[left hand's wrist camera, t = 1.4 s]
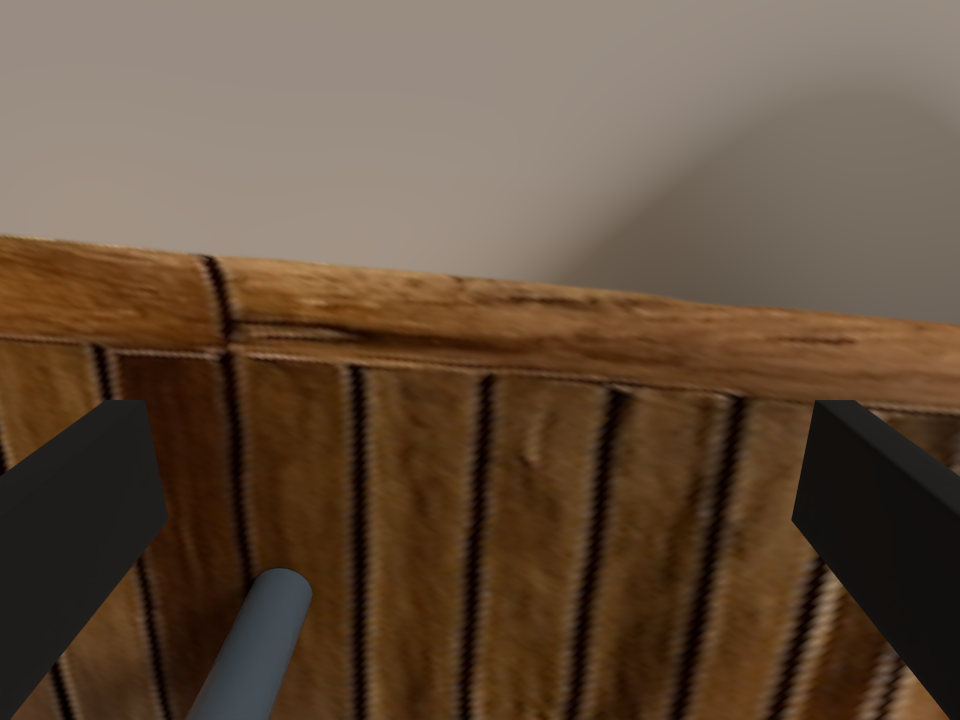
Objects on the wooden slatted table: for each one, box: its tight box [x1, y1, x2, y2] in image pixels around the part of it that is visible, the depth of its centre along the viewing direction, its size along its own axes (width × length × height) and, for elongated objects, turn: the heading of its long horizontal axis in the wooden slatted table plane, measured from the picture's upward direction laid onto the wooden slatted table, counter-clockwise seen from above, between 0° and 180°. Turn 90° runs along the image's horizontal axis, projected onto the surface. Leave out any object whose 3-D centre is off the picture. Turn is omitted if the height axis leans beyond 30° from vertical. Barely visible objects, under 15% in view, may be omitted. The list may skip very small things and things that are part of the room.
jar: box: [185, 568, 312, 720], centre depth 41 cm, size 5×5×16 cm
